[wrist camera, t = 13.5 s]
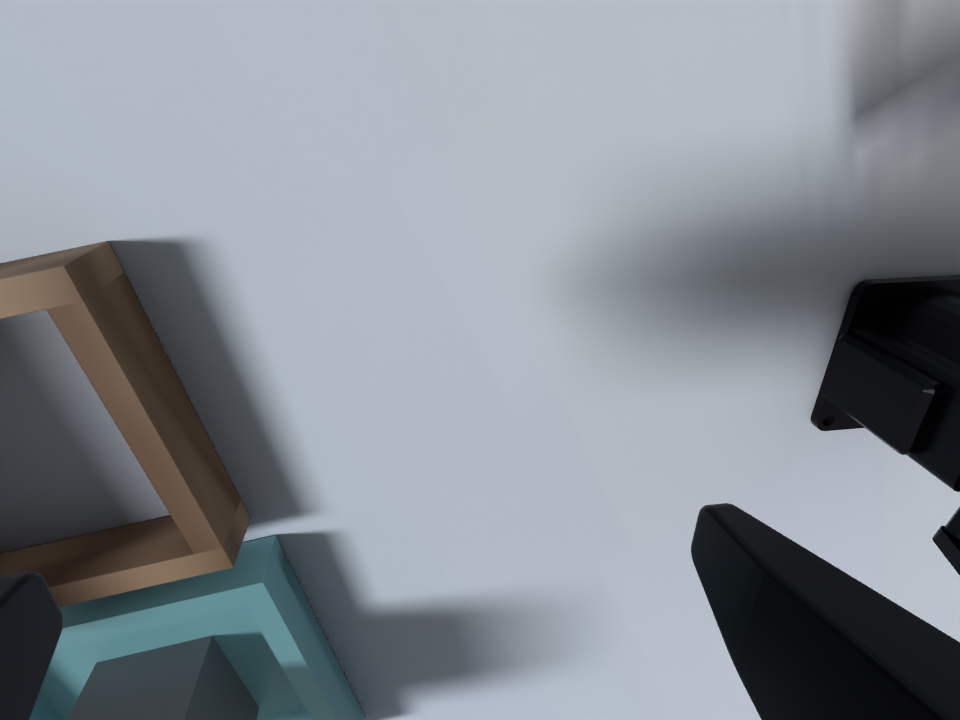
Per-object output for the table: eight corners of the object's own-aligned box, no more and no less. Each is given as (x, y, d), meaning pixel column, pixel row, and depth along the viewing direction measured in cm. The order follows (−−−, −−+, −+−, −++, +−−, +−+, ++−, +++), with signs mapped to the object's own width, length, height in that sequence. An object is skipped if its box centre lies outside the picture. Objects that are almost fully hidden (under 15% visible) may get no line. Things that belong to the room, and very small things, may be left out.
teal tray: (275, 534, 22) (262, 582, 20) (365, 717, 29) (362, 768, 27) (-43, 607, 22) (-90, 663, 20) (120, 776, 28) (97, 832, 26)
